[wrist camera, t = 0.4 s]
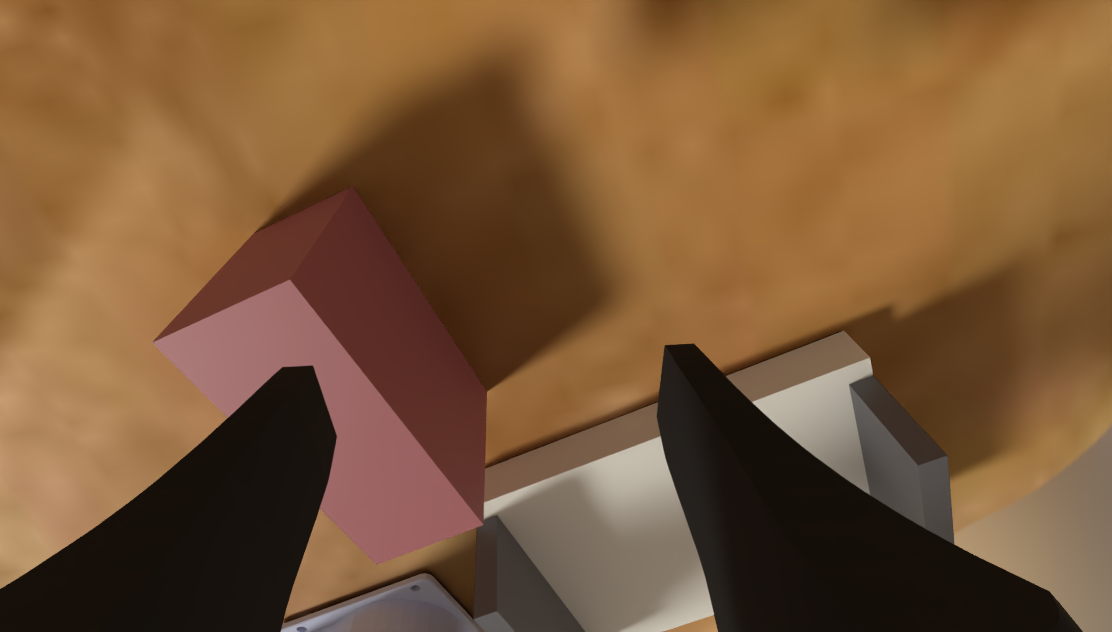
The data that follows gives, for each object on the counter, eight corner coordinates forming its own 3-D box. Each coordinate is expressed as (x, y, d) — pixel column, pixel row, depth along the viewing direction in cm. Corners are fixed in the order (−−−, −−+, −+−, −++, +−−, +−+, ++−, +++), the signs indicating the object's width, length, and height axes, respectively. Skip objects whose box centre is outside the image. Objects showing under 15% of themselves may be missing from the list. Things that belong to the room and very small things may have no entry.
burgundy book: (405, 423, 25) (376, 564, 19) (254, 232, 20) (151, 342, 14) (487, 390, 25) (483, 524, 19) (353, 185, 19) (289, 279, 14)
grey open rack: (579, 622, 34) (595, 749, 28) (468, 474, 27) (461, 605, 21) (879, 522, 31) (961, 639, 26) (844, 330, 24) (946, 436, 19)
